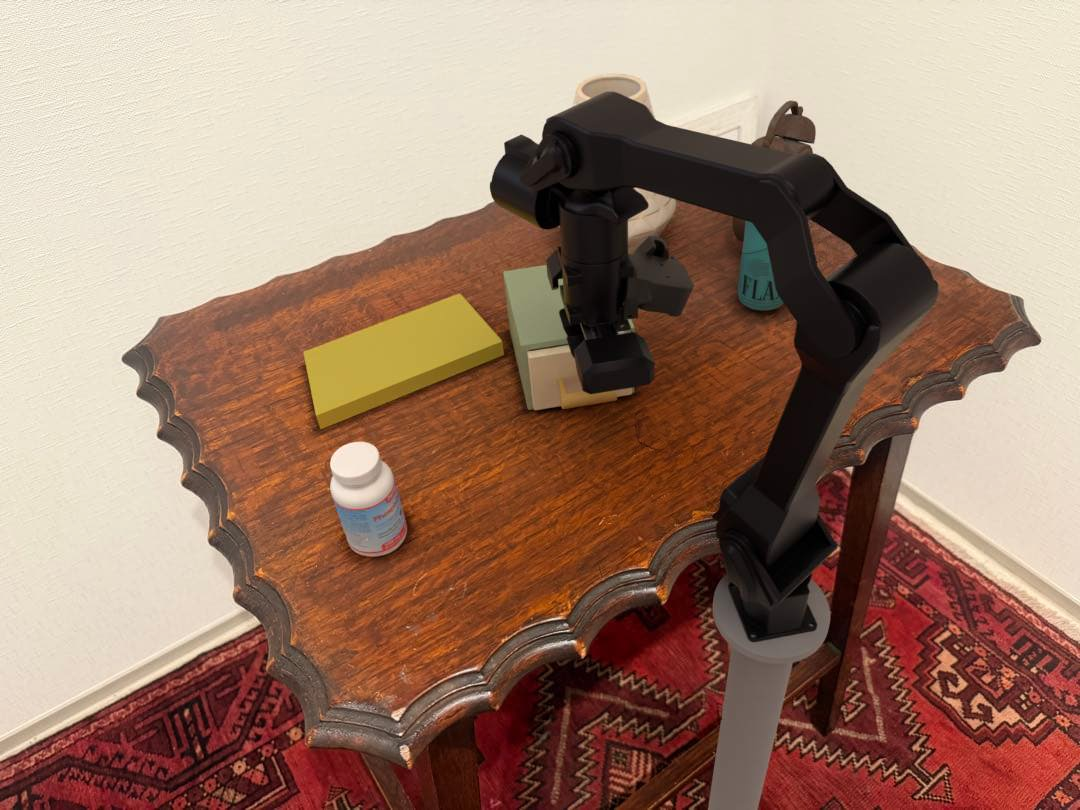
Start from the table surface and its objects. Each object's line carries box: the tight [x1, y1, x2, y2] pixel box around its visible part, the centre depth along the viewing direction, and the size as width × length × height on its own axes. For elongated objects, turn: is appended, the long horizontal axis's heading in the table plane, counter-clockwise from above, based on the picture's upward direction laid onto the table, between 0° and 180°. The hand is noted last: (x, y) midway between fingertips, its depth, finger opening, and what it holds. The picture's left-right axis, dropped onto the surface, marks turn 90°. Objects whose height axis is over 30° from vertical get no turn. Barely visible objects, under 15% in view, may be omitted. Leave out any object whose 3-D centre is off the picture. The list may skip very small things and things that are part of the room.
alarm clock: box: [732, 100, 817, 254], centre depth 115 cm, size 15×7×20 cm, turn 147°
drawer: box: [527, 345, 633, 411], centre depth 100 cm, size 18×11×8 cm, turn 9°
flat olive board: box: [303, 293, 505, 430], centre depth 107 cm, size 12×2×24 cm
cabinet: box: [503, 264, 636, 411], centre depth 103 cm, size 15×13×10 cm
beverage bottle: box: [735, 221, 784, 311], centre depth 105 cm, size 6×7×20 cm
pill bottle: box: [329, 441, 408, 558], centre depth 84 cm, size 6×6×11 cm
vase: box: [557, 73, 678, 254], centre depth 116 cm, size 18×17×23 cm
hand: (598, 383), depth 85 cm, fingers closed
